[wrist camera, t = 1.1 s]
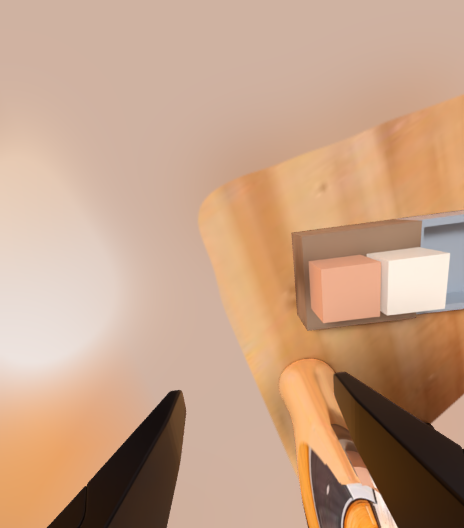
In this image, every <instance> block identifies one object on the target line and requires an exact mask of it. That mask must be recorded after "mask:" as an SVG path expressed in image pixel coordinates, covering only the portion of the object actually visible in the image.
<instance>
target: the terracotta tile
mask: <svg viewBox="0 0 464 528" xmlns="http://www.w3.org/2000/svg"><path fill="white" fill-rule="evenodd" d="M309 279H310V297H311V309H312V310H313V311H314V312H315V314H316V315H317V316H318V317H319V319H320V320H321V321H322V322H323V323H329V322H338V321H346V320H354V319H363V318H371V317H380V295H381V262H380V261H377V260H374V259H371V258H369V257H366V256H363V255H354V256H346V257H338V258H330V259H323V260H315V261H309Z"/></svg>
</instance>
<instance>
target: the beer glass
mask: <svg viewBox="0 0 464 528" xmlns="http://www.w3.org/2000/svg"><path fill="white" fill-rule="evenodd" d="M334 373H335V372H334V371H333V369H332V368H331V367H330V366H329V365H328V364H326V363H325V362H323V361H321V360H318V359H301V360H298V361H295V362H293V363H292V364H290V365H289V366H288V367H286V368H285V370H284V371H283V372H282V374H281V376H280V379H279V392H280V395H281V397H282V399H283V401H284V403H285V405H286V407H287V409H288V411H289V413H290V416H291V420H292V424H293V430H294V437H295V447H296V457H297V467H298V476H299V483H300V490H301V496H302V503H303V508H304V512H305V517H306V521H307V526H308V528H398V527H397V525H396V523H395V521H394V520H393V518H392V516H391V514H390V512H389V510H388V508H387V506H386V504H385V502H384V500H383V499H382V497H381V495H380V493H379V491H378V489H377V487H376V485H375V483H374V481H373V479H372V478H371V476H370V474H369V472H368V470H367V468H366V466H365V464H364V462H363V460H362V458H361V457H360V455H359V453H358V451H357V449H356V447H355V444H354V442H353V440H352V437H351V435H350V433H349V430H348V428H347V425H346V423H345V421H344V418H343V416H342V413H341V411H340V408H339V406H338V404H337V401H336V399H335V396H334V384H333V375H334Z"/></svg>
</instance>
